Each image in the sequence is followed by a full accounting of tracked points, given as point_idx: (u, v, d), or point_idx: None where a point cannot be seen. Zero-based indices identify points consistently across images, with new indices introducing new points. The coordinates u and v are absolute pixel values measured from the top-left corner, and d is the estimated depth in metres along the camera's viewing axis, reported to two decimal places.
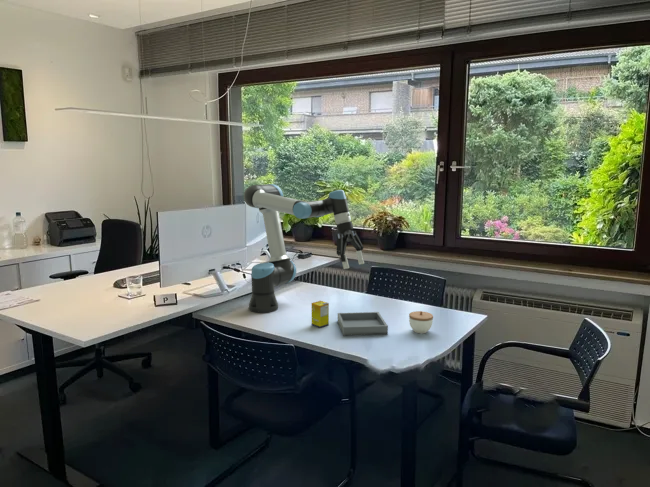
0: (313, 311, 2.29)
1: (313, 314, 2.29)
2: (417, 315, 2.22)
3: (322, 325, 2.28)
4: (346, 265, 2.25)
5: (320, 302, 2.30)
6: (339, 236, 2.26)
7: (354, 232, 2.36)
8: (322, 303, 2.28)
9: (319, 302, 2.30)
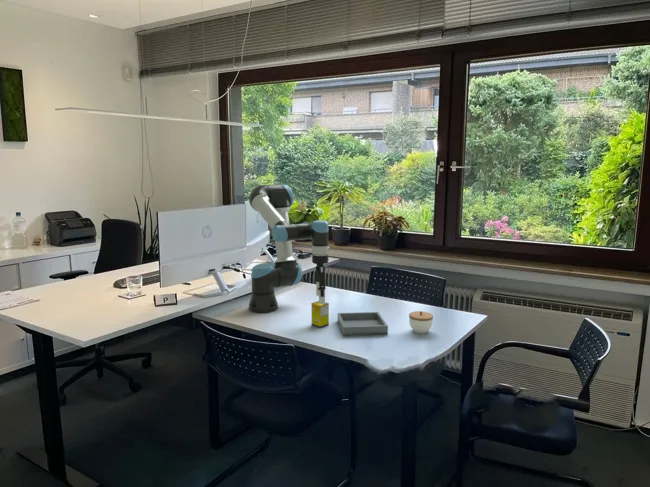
0: (313, 311, 2.29)
1: (313, 314, 2.29)
2: (417, 315, 2.22)
3: (322, 325, 2.28)
4: (323, 300, 2.21)
5: None
6: (322, 270, 2.19)
7: None
8: (322, 303, 2.28)
9: None
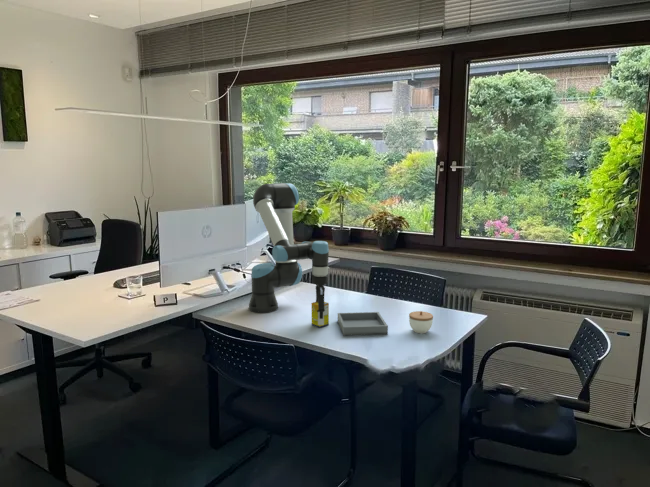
0: (313, 311, 2.29)
1: (313, 314, 2.29)
2: (417, 315, 2.22)
3: (322, 325, 2.28)
4: (322, 322, 2.26)
5: None
6: (322, 293, 2.22)
7: None
8: None
9: None
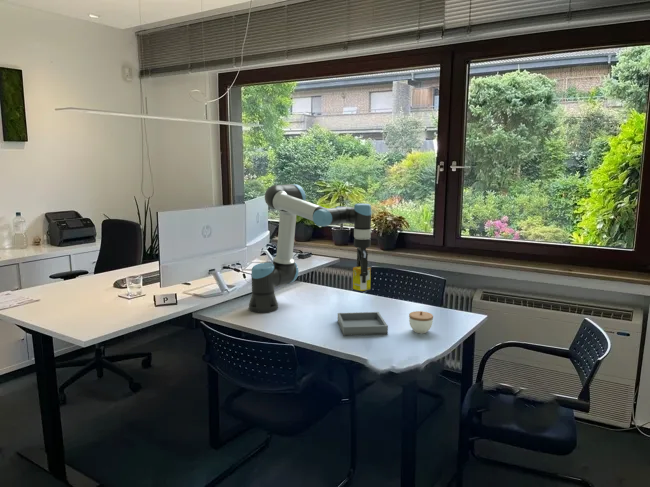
0: (355, 276, 2.22)
1: (355, 279, 2.23)
2: (417, 315, 2.22)
3: (364, 290, 2.22)
4: (364, 286, 2.20)
5: None
6: (365, 256, 2.15)
7: None
8: None
9: None
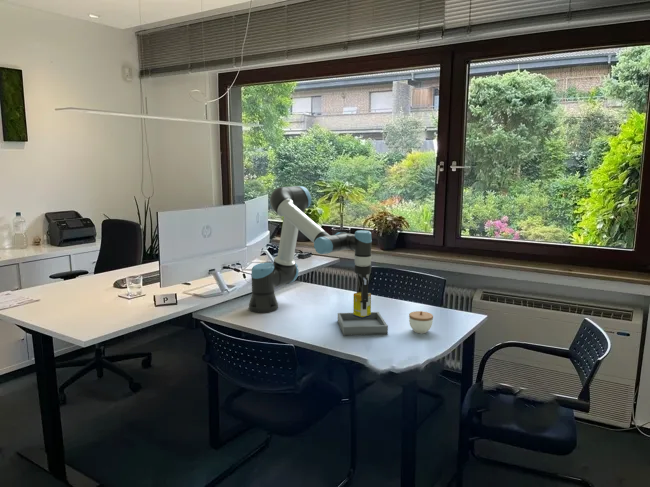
0: (356, 302, 2.25)
1: (355, 305, 2.25)
2: (417, 315, 2.22)
3: (365, 316, 2.24)
4: (365, 312, 2.22)
5: None
6: (366, 283, 2.18)
7: None
8: None
9: None
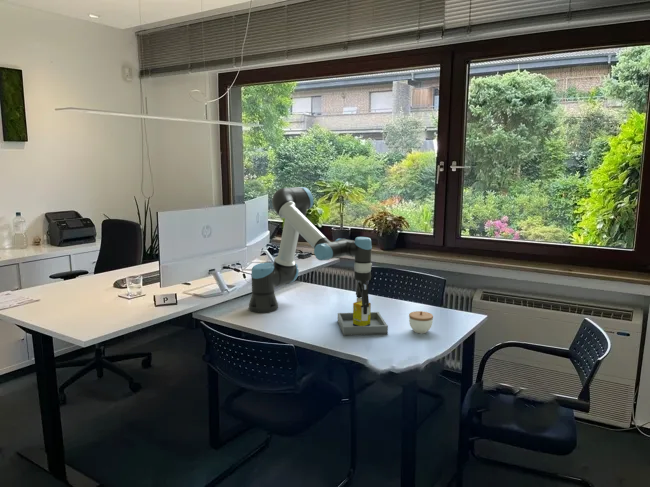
0: (355, 311, 2.26)
1: (355, 314, 2.26)
2: (417, 315, 2.22)
3: (364, 325, 2.25)
4: (366, 317, 2.20)
5: None
6: (366, 288, 2.18)
7: None
8: None
9: (361, 302, 2.27)
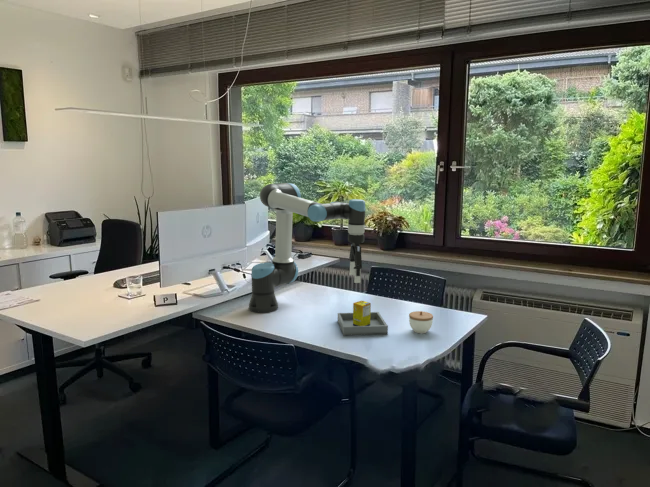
0: (355, 311, 2.26)
1: (355, 314, 2.26)
2: (417, 315, 2.22)
3: (364, 325, 2.25)
4: (358, 279, 2.20)
5: (362, 302, 2.27)
6: (359, 249, 2.18)
7: None
8: (365, 303, 2.25)
9: (361, 302, 2.27)
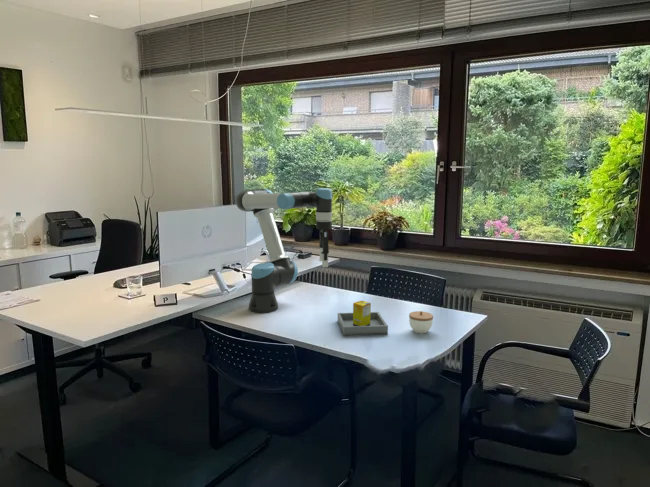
0: (355, 311, 2.26)
1: (355, 314, 2.26)
2: (417, 315, 2.22)
3: (364, 325, 2.25)
4: (326, 264, 2.32)
5: (362, 302, 2.27)
6: (326, 235, 2.30)
7: None
8: (365, 303, 2.25)
9: (361, 302, 2.27)
